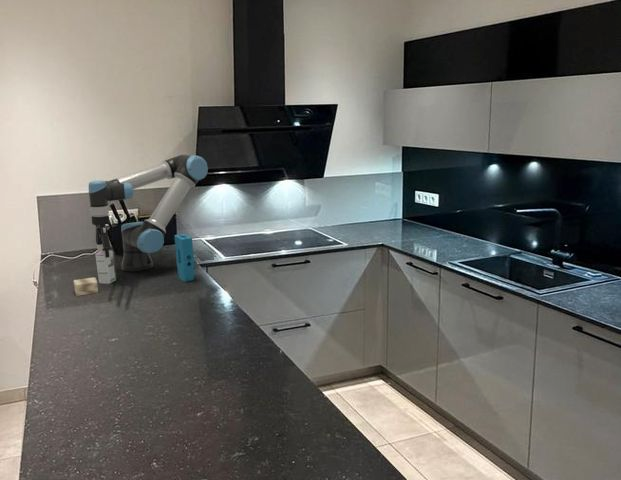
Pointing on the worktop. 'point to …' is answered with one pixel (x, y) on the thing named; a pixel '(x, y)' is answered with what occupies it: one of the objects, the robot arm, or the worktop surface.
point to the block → (184, 257)
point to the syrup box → (105, 268)
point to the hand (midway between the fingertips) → (104, 261)
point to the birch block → (85, 286)
